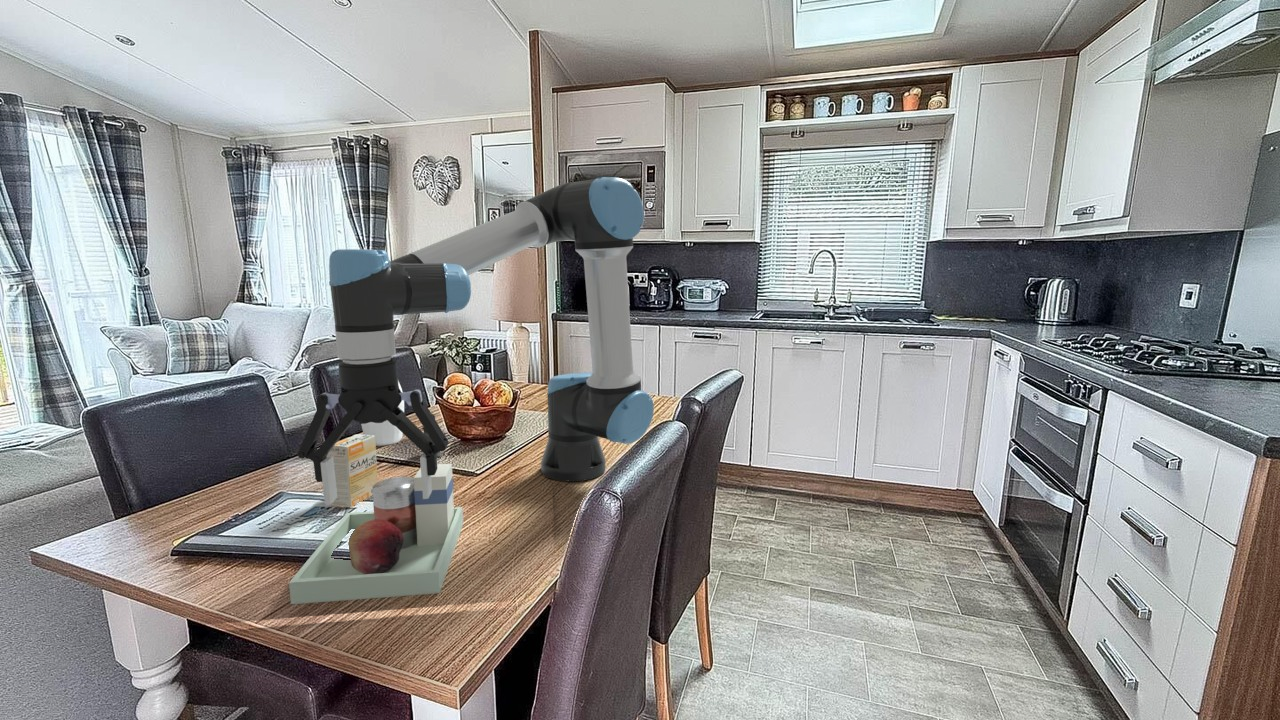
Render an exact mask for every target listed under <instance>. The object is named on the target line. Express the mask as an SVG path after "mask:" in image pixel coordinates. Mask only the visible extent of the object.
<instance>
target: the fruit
mask: <svg viewBox="0 0 1280 720" xmlns="http://www.w3.org/2000/svg"><path fill="white" fill-rule="evenodd" d="M403 541H404V538H403V533H402V532H401V531H400V530H399V529H398V528H397V527H395V526H394V525H393V524H392V523H390V522H388V521H386V520H381V519H374V520H370V521H366V522H364V523H362V524H361V525H359V526H358V527H357V528H356V529H355V530H354V531H353V533H352V534H351V536H350V538H349V542H348V545H349V552H350V559H351V564H352V566H353V568H354V569H356V570H357V571H359V572H361V573H364V574H378V573H385V572H387V571H389V570H390V569H392V568H393V567H394V566H395V565H396V563H397V562H398V560H399V552H400V550H401V547H402V545H403Z"/></svg>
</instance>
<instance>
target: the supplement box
mask: <svg viewBox="0 0 1280 720" xmlns="http://www.w3.org/2000/svg"><path fill="white" fill-rule="evenodd" d="M376 447H377V446H376V443H375V436H374V435H364V434H360V433H358V434H353V435H352V436H349V437H345V438H343V439H341V440H340V439H339V440H338V441H337V443H336V444H335V445H334V446H333V447H332V449H331V450H330V451H329V452H328V454H327V455H326V458H327V457H328V456H333V459H334V469H335V478H336V488H337V498H336V499H335V500H334V502H333V503H332V504H331V505H330V506H331V507H334V506H343V507H342V508H344V507H352V506H354V505H356V504H357V503H359V502H361V501H362V502H364V501H366V500H368V499H369V498H371V497H373V496H372V495H373V485H374V484H376V483H377V482H378V468H377V466H378V465H377V464H378V463H377V449H376ZM370 496H371V497H370ZM367 498H368V499H367ZM365 499H366V500H365ZM363 500H364V501H363ZM362 502H361V503H362ZM359 504H360V503H359ZM357 505H358V504H357ZM357 505H356V506H357ZM354 507H355V506H354ZM352 508H353V507H352Z"/></svg>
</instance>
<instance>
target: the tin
mask: <svg viewBox="0 0 1280 720" xmlns="http://www.w3.org/2000/svg"><path fill="white" fill-rule="evenodd" d="M414 491H415V489H414V477H411V476H394V477H390V478H386V479H383V480H380V481H377V483H376V484H374V485H373V496H372V499H373V503H372V504H373V505H372V506H373V512H374V519H381V520H386V521H388V522H390V523H392V524H393V525H394V526H395V527H397V528H398V529H399V530H400V531H401V532H402V533H403V538H404V541H403V545H402V547H401V549H404V548H408V547H410V546H412V545H414V544H416V543H417V527H416V508H415V497H414Z"/></svg>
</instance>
